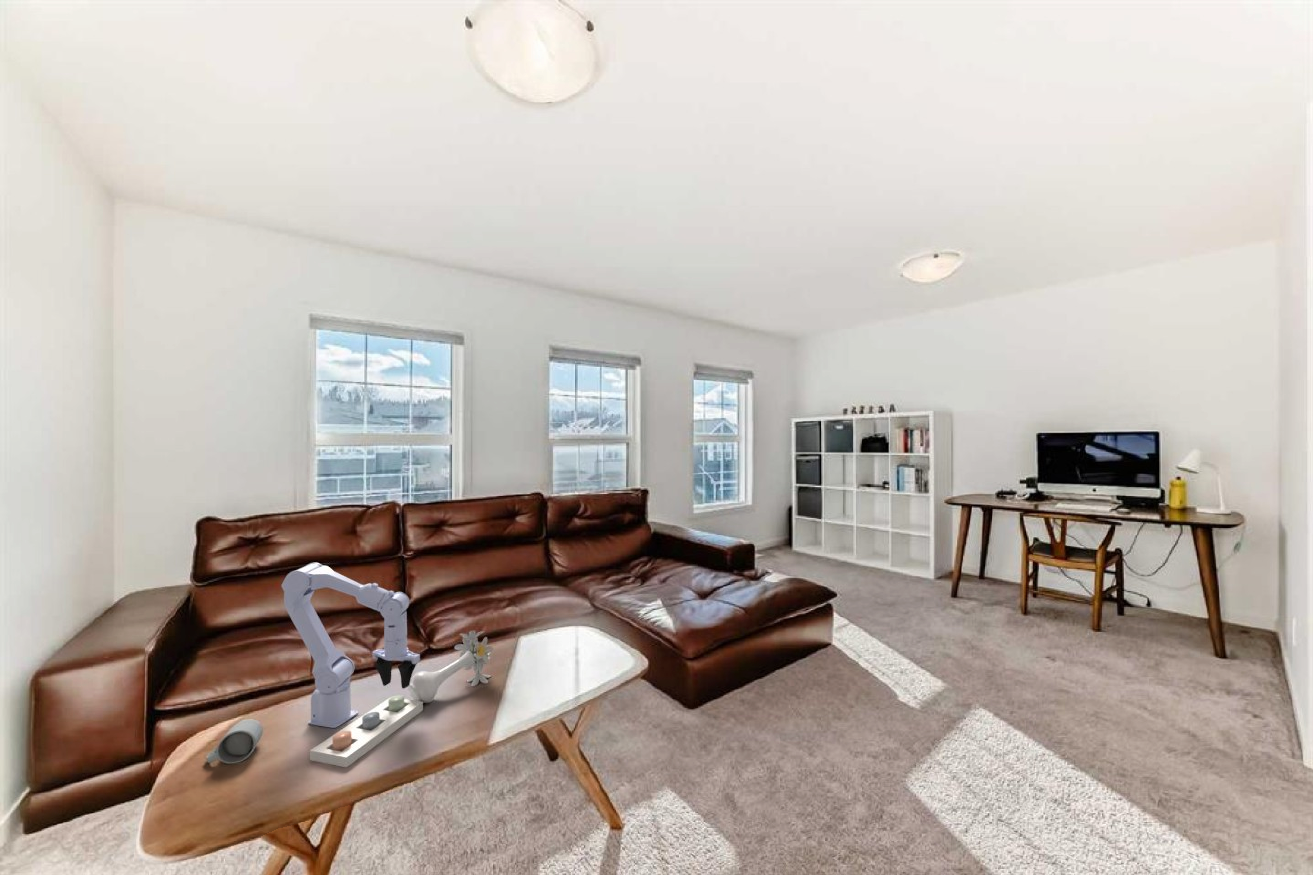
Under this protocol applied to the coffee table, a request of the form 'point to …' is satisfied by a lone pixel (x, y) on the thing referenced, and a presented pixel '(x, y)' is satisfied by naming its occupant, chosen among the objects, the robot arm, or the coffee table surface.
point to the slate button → (370, 721)
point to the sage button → (396, 703)
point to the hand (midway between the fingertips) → (396, 685)
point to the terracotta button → (342, 740)
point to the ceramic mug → (237, 742)
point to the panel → (366, 734)
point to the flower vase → (453, 668)
